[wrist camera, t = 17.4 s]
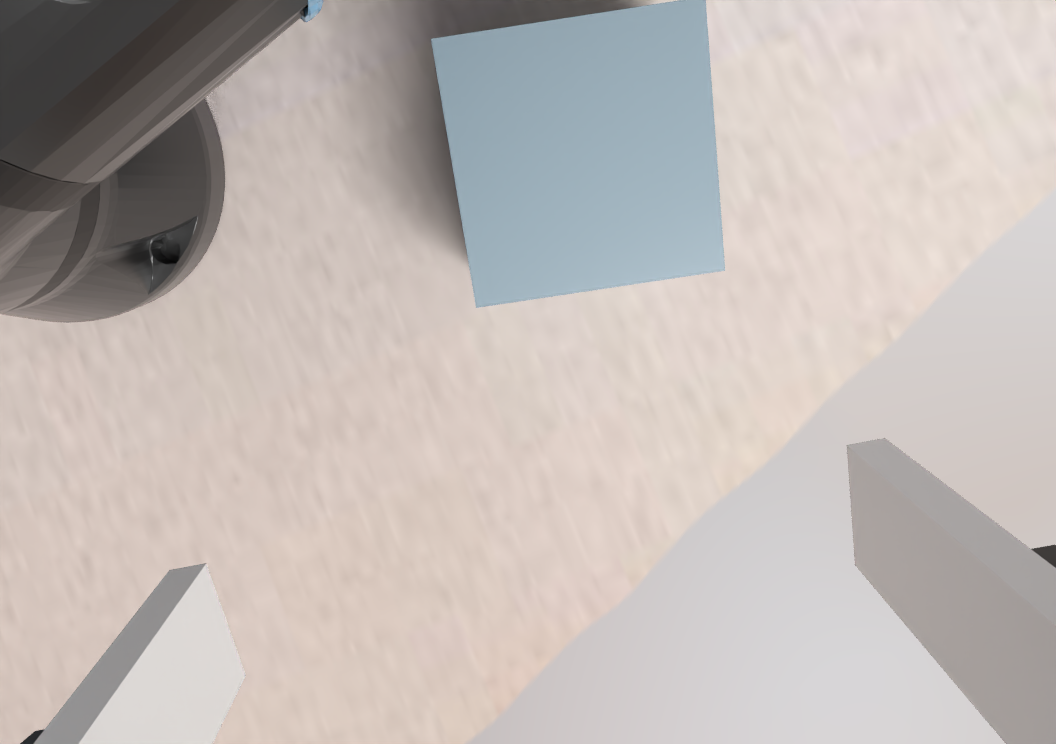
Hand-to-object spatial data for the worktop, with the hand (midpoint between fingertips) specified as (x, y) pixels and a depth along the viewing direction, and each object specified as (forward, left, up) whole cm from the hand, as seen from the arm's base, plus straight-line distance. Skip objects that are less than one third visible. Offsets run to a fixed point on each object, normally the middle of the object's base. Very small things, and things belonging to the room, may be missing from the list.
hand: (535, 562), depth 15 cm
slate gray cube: (+4, +7, -26) cm, 27 cm away
